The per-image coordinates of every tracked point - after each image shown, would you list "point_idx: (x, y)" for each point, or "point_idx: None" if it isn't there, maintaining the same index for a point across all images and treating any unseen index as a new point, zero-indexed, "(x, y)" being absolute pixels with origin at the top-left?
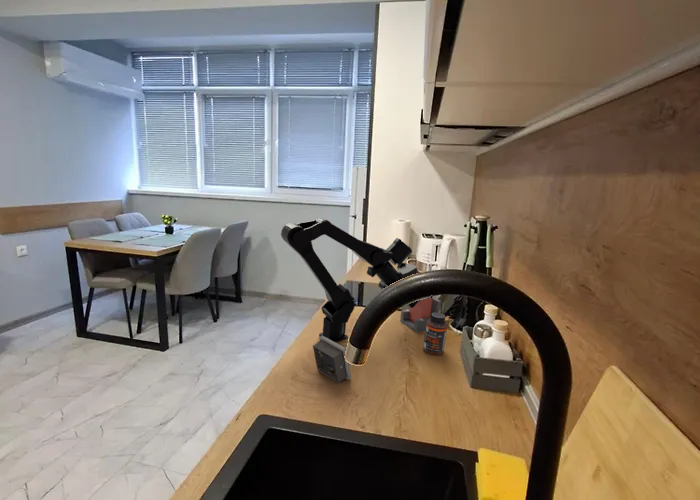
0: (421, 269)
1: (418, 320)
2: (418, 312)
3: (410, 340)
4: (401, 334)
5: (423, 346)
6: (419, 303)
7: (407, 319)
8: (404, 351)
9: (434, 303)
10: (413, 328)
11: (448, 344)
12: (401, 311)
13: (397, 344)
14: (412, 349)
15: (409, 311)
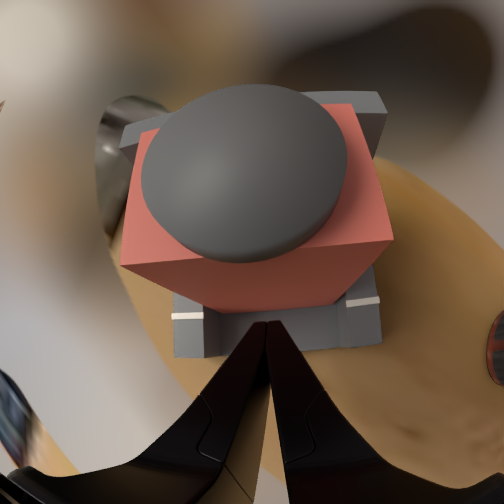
0: (2, 102)
1: (375, 334)
2: (312, 295)
3: (426, 412)
4: (359, 432)
5: (501, 384)
6: (318, 277)
7: (218, 321)
8: (479, 459)
9: None
10: (334, 347)
11: (477, 251)
12: (180, 357)
13: (432, 475)
14: (482, 426)
15: (202, 307)
